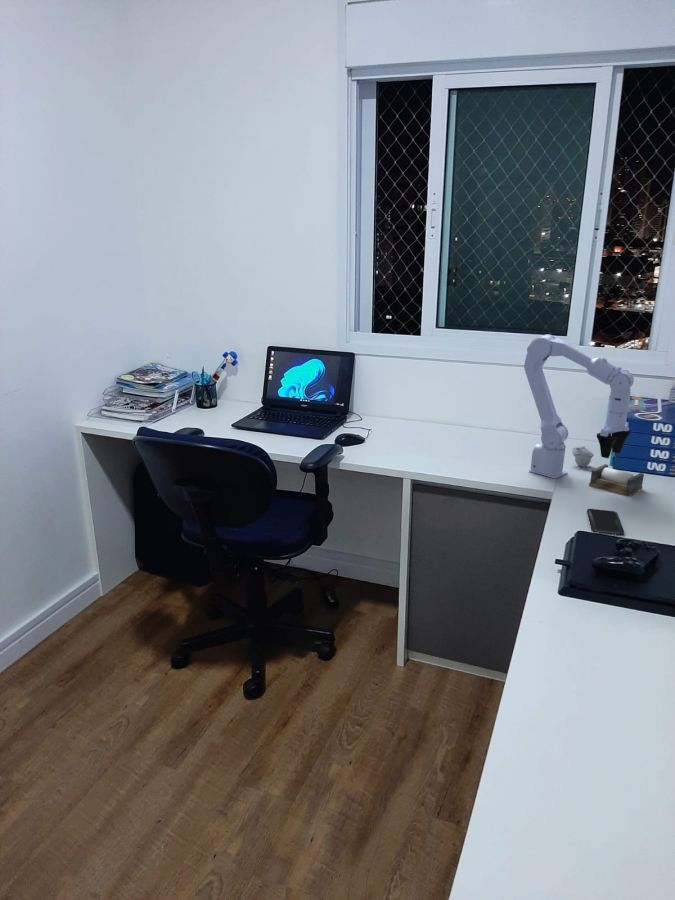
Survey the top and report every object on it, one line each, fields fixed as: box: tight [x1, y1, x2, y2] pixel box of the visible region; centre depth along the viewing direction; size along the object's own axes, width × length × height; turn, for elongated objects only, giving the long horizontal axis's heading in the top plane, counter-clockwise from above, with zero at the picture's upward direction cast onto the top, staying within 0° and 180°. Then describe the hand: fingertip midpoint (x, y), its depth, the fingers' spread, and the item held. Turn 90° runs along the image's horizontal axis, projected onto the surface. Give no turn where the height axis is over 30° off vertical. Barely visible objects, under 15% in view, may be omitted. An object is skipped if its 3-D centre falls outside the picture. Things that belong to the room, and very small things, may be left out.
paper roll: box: [601, 467, 635, 485], centre depth 201 cm, size 8×4×4 cm, turn 43°
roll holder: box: [588, 464, 645, 497], centre depth 202 cm, size 12×9×5 cm
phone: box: [586, 508, 625, 536], centre depth 176 cm, size 8×1×15 cm
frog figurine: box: [571, 444, 594, 467], centre depth 221 cm, size 6×7×7 cm
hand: (610, 455), depth 203 cm, fingers open, 7 cm apart
